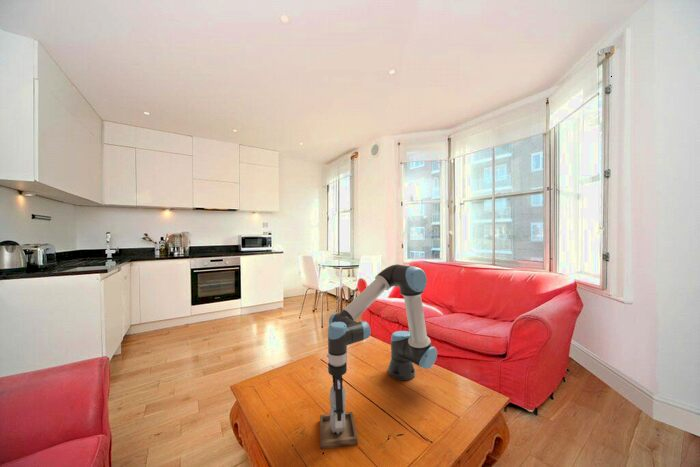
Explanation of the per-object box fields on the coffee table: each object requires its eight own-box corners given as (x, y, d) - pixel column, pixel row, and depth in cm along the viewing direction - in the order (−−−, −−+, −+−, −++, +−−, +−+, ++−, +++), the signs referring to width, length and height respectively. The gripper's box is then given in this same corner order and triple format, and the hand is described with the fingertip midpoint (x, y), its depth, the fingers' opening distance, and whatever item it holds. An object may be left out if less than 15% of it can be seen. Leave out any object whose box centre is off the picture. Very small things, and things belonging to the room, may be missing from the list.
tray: (352, 417, 108) (352, 411, 108) (357, 444, 94) (357, 438, 94) (320, 420, 106) (320, 415, 106) (320, 448, 92) (320, 442, 92)
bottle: (329, 424, 103) (329, 376, 103) (345, 422, 104) (345, 375, 104) (329, 437, 96) (329, 386, 96) (346, 436, 97) (346, 385, 97)
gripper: (326, 348, 112) (327, 394, 112) (329, 381, 87) (329, 440, 87) (343, 347, 113) (343, 393, 113) (350, 379, 88) (350, 438, 88)
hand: (337, 414), depth 100 cm, fingers open, 13 cm apart
